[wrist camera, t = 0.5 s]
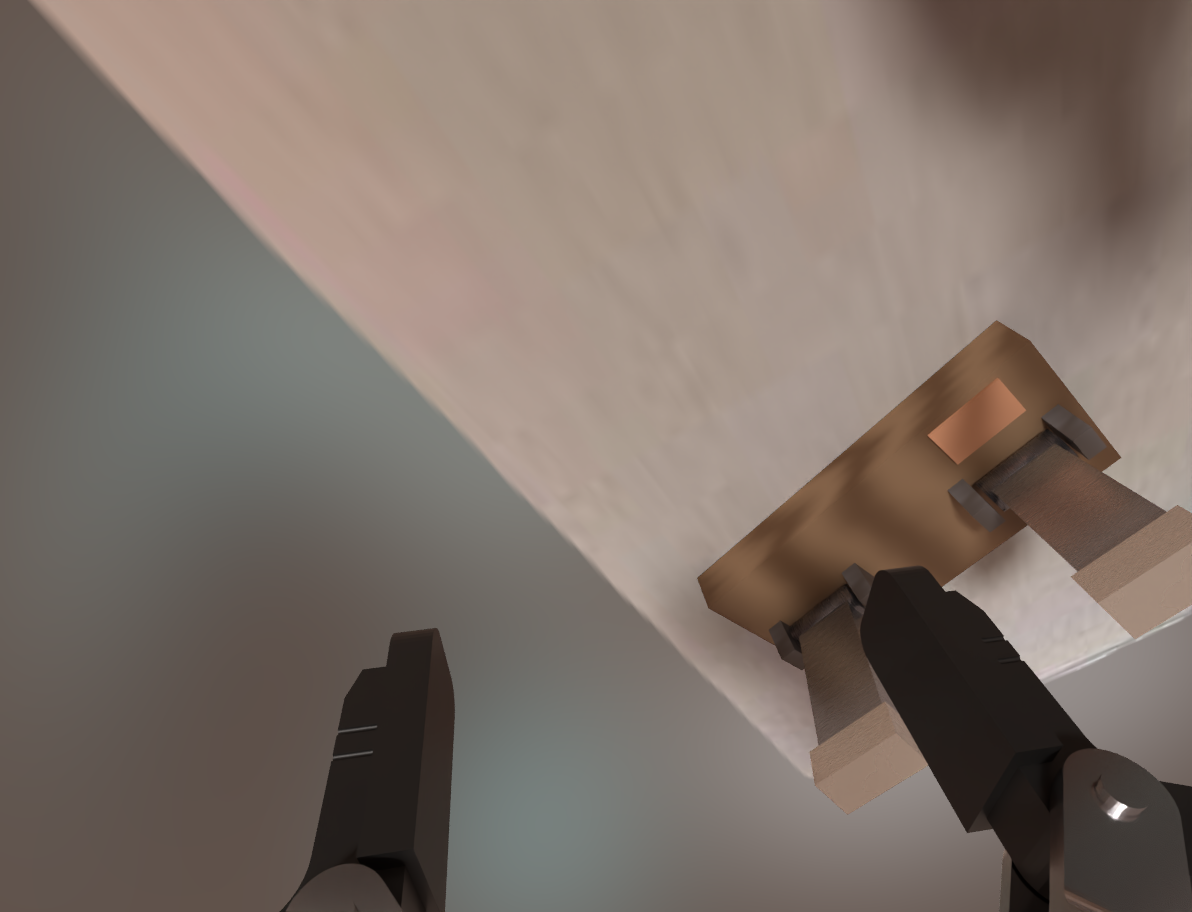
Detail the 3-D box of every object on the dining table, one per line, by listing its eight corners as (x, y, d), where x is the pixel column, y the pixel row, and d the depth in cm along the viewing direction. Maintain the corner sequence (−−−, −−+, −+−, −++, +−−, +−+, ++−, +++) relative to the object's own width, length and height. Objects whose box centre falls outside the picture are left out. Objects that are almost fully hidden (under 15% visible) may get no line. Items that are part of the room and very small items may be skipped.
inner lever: (1039, 424, 41) (1215, 527, 27) (1065, 450, 42) (1254, 566, 27) (970, 479, 43) (1097, 602, 28) (995, 503, 43) (1135, 639, 29)
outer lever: (842, 578, 47) (896, 733, 32) (865, 600, 47) (930, 764, 32) (788, 620, 49) (814, 785, 34) (810, 641, 49) (847, 814, 34)
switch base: (996, 320, 40) (1064, 361, 35) (1087, 433, 46) (1154, 481, 42) (697, 578, 49) (719, 637, 44) (808, 642, 55) (837, 701, 51)
